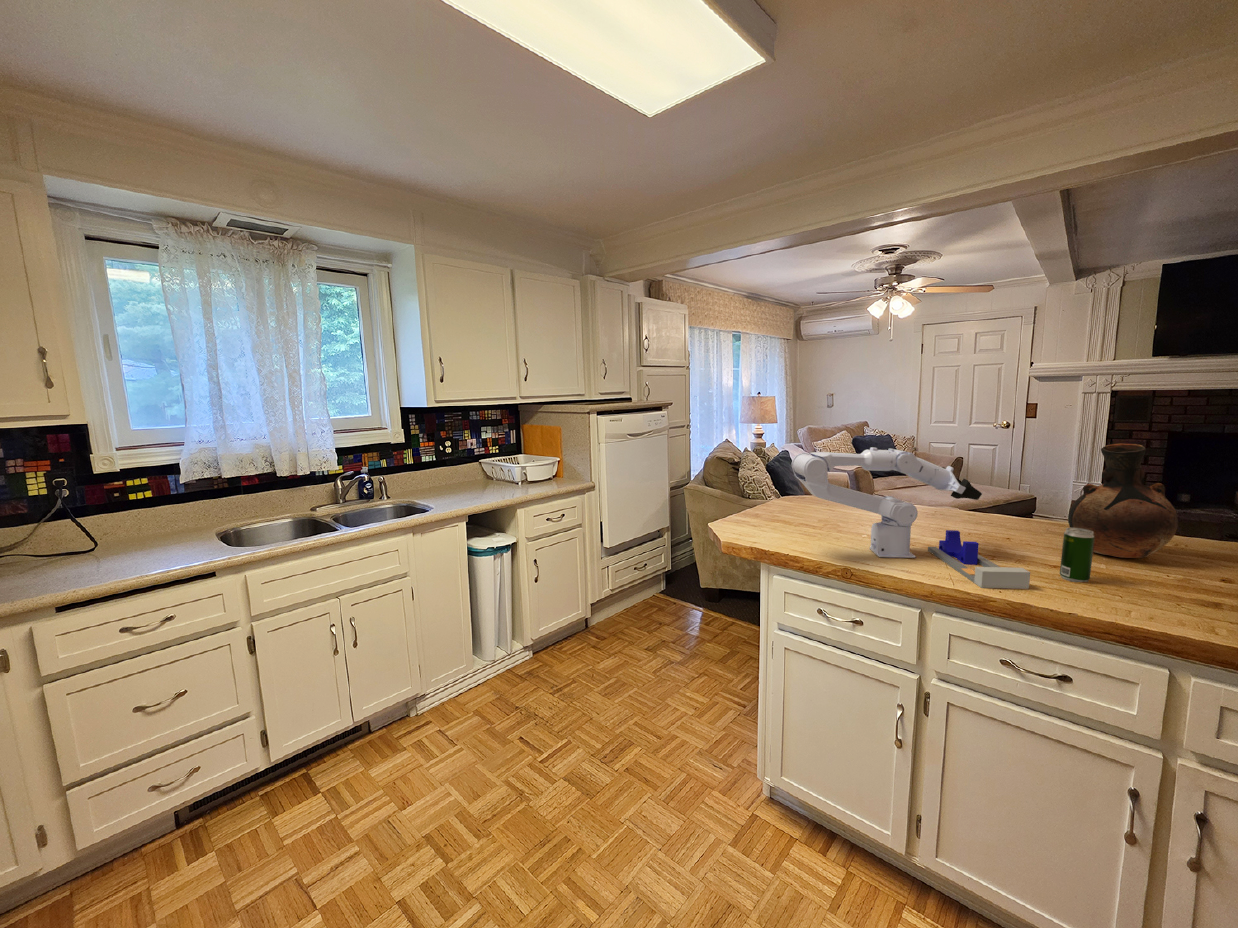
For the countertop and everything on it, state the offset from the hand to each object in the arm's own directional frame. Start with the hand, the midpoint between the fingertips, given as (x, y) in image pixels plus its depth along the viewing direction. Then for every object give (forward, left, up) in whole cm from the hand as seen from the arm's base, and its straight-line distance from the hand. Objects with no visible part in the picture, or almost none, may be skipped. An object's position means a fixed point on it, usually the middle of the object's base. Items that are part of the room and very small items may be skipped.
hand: (970, 491), depth 140 cm
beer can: (+14, -21, -17) cm, 30 cm away
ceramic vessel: (+36, -3, -17) cm, 40 cm away
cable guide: (-5, -14, -17) cm, 23 cm away
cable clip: (-5, -6, -18) cm, 19 cm away
